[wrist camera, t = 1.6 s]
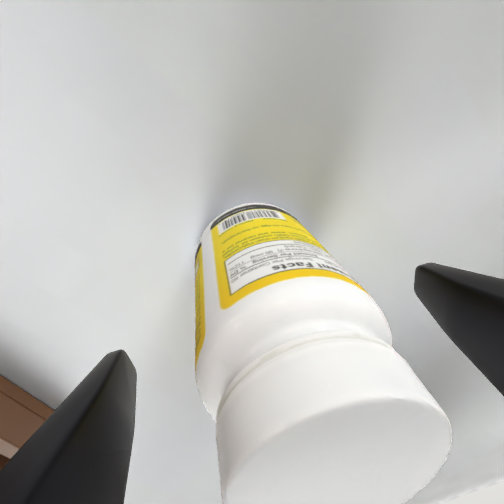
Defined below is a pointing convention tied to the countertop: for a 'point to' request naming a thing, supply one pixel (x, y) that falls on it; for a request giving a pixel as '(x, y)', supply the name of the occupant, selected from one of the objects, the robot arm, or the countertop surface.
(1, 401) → the tray
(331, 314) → the supplement bottle
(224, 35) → the countertop surface
